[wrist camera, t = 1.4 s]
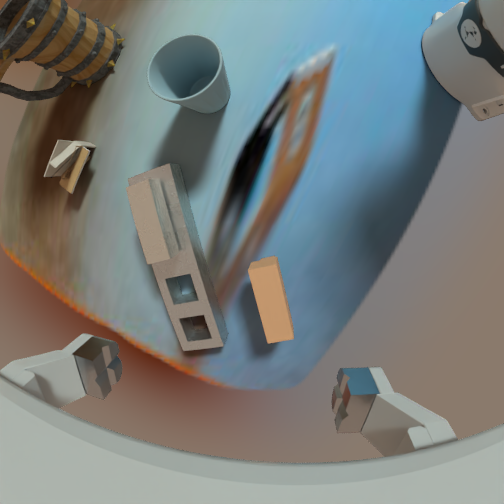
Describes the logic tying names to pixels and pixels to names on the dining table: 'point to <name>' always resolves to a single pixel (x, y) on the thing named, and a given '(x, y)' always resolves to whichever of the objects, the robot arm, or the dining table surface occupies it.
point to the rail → (186, 267)
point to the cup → (190, 73)
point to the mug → (55, 44)
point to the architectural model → (68, 162)
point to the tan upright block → (271, 299)
